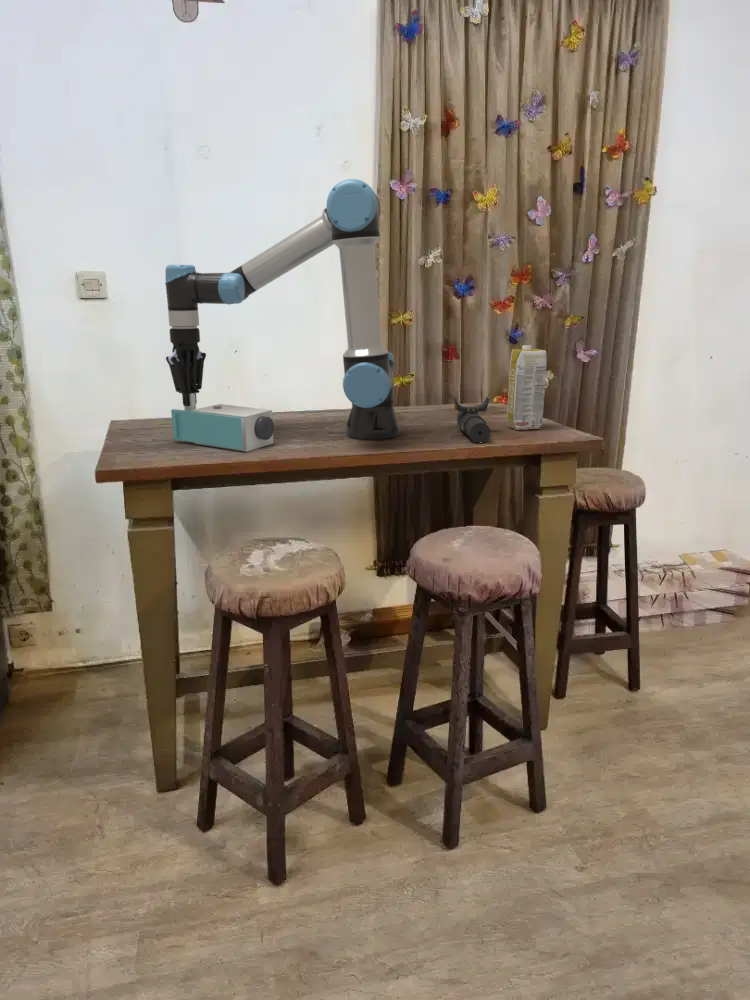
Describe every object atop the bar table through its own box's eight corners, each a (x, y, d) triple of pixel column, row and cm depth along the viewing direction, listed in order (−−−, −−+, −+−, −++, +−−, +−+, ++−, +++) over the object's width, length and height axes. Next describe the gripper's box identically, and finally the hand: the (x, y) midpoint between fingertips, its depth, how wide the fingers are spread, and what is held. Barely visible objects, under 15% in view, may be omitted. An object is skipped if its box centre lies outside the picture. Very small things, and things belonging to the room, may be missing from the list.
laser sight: (461, 444, 194) (463, 407, 191) (449, 427, 216) (450, 394, 213) (497, 444, 195) (499, 407, 192) (481, 427, 216) (483, 393, 213)
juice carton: (532, 424, 218) (537, 343, 211) (544, 430, 211) (551, 346, 204) (503, 426, 216) (508, 344, 209) (515, 431, 209) (520, 347, 202)
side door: (246, 449, 184) (245, 418, 182) (242, 450, 183) (240, 419, 180) (176, 438, 196) (173, 409, 194) (171, 439, 195) (168, 410, 192)
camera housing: (278, 444, 193) (276, 408, 191) (251, 452, 184) (249, 415, 181) (222, 436, 203) (219, 401, 200) (193, 443, 194) (191, 407, 191)
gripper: (190, 325, 195) (196, 412, 202) (155, 328, 184) (162, 420, 191) (212, 326, 191) (217, 414, 199) (177, 329, 181) (184, 423, 188)
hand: (190, 417), depth 195 cm, fingers closed
